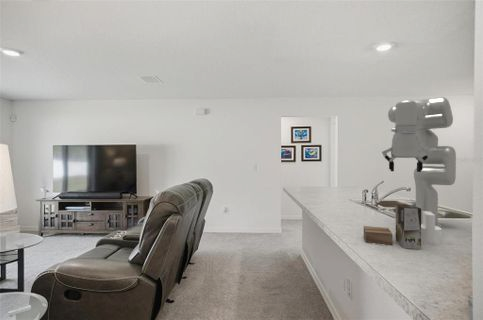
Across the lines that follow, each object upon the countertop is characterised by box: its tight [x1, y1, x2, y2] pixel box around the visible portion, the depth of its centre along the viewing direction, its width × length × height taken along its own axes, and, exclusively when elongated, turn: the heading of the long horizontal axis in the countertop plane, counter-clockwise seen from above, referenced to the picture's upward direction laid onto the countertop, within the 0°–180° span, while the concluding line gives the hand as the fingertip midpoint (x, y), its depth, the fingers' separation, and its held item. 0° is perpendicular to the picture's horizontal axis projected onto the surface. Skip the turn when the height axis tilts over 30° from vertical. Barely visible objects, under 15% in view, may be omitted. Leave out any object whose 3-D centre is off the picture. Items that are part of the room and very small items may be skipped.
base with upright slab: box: [421, 211, 443, 245], centre depth 111 cm, size 9×9×12 cm
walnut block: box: [363, 225, 394, 246], centre depth 111 cm, size 10×10×5 cm
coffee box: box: [394, 204, 422, 250], centre depth 105 cm, size 9×6×16 cm
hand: (405, 171), depth 107 cm, fingers open, 9 cm apart
